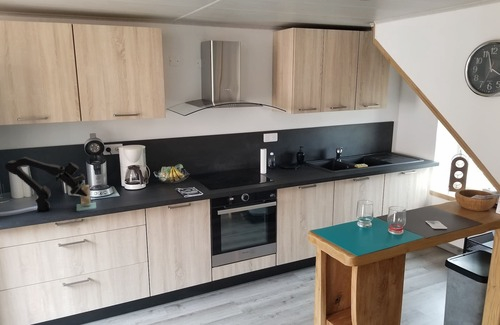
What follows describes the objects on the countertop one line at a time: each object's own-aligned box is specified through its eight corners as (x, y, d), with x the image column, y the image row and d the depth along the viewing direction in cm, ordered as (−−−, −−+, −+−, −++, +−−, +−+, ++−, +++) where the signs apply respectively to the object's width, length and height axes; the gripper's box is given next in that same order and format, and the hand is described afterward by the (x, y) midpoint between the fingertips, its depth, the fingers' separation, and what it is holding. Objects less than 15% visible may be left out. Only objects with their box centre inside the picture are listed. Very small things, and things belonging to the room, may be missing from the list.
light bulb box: (86, 193, 288) (85, 179, 286) (80, 196, 282) (78, 182, 280) (74, 192, 291) (72, 178, 289) (67, 195, 285) (66, 181, 282)
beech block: (81, 205, 255) (79, 186, 252) (82, 203, 260) (81, 185, 257) (89, 205, 256) (88, 186, 254) (90, 203, 261) (89, 184, 258)
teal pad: (76, 211, 251) (76, 209, 251) (76, 205, 261) (76, 204, 261) (96, 208, 255) (96, 207, 255) (95, 203, 266) (95, 202, 266)
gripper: (74, 174, 243) (94, 189, 248) (79, 167, 261) (97, 182, 266) (61, 187, 243) (82, 202, 248) (67, 179, 261) (86, 194, 266)
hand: (87, 194), depth 257 cm, fingers closed on beech block, 5 cm apart
